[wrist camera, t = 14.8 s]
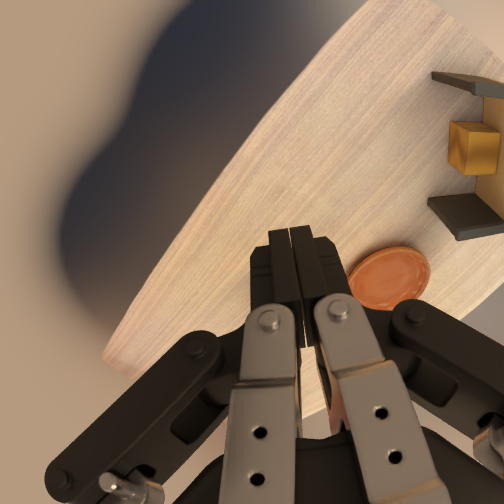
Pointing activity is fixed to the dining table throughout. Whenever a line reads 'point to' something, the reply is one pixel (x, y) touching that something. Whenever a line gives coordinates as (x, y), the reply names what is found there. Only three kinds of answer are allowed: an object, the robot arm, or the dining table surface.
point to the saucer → (389, 277)
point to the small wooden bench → (487, 186)
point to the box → (473, 148)
